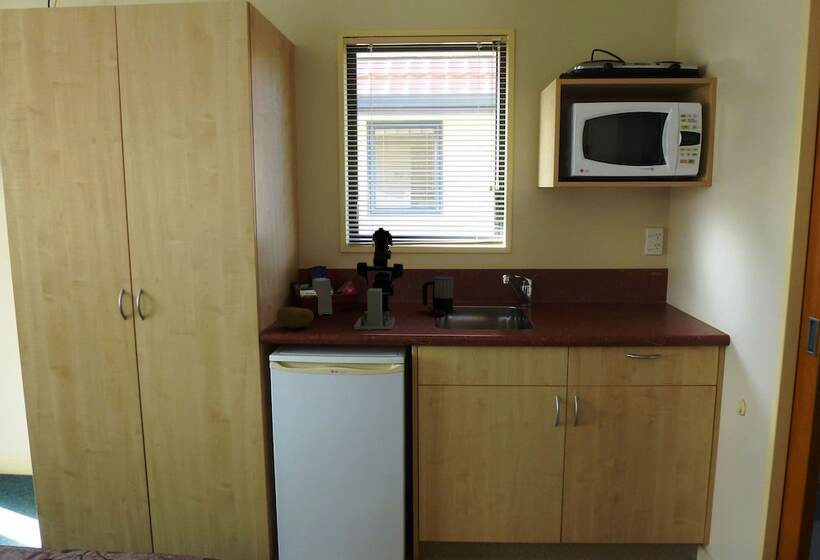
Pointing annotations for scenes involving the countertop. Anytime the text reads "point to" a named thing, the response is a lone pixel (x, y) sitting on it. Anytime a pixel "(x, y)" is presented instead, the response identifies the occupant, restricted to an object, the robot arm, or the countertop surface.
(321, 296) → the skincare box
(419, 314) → the countertop surface
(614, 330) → the countertop surface
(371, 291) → the plate
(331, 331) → the countertop surface
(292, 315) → the potato
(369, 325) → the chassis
